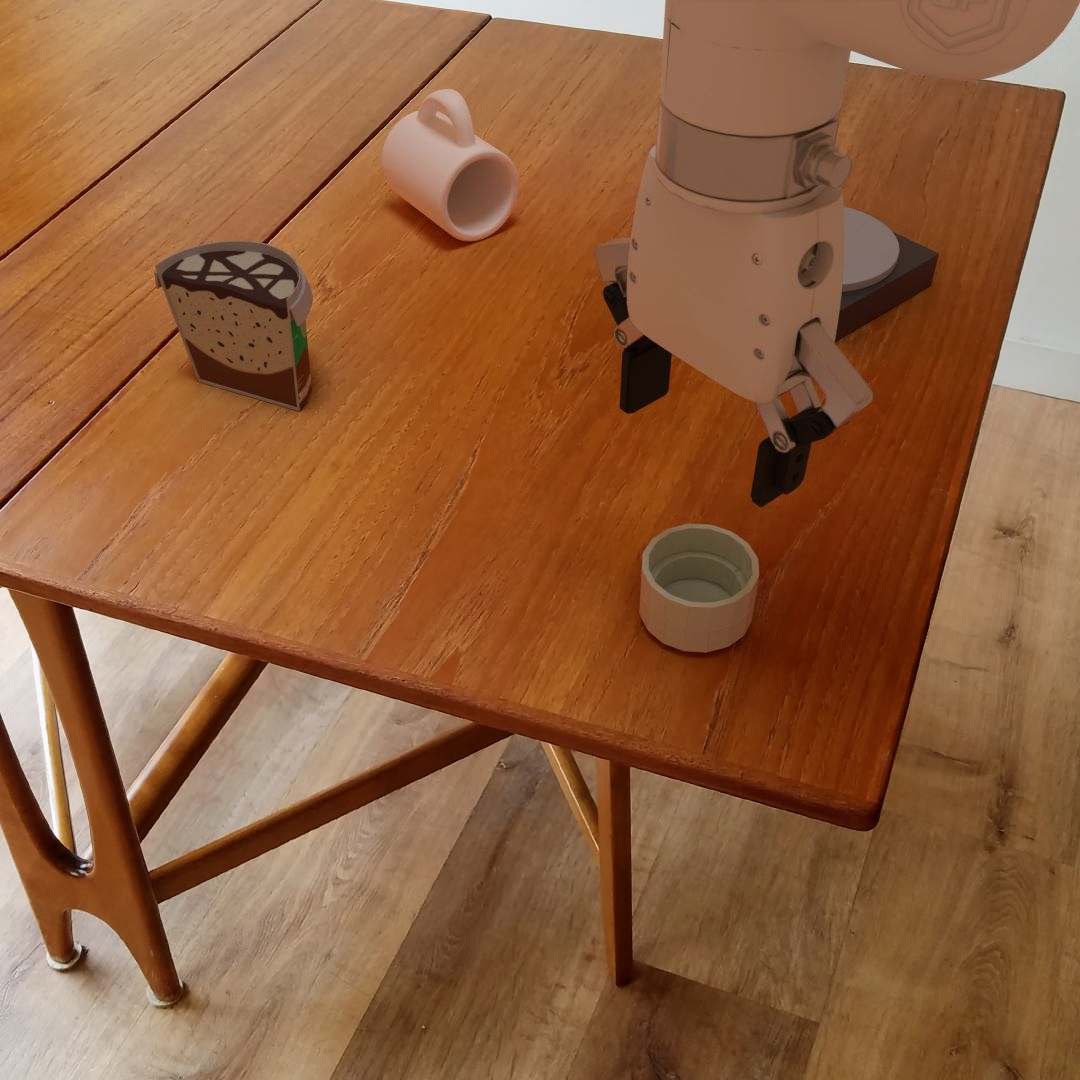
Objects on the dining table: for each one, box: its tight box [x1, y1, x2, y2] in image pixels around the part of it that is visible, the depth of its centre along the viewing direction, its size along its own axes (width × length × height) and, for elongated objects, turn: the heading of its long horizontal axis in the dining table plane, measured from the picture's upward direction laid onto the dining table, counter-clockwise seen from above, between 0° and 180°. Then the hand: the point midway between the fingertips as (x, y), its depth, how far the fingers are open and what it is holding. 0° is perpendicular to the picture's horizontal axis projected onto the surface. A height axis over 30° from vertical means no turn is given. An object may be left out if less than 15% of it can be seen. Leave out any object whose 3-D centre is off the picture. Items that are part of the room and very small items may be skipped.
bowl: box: [638, 523, 760, 654], centre depth 69 cm, size 7×7×4 cm
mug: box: [380, 88, 520, 242], centre depth 102 cm, size 8×10×12 cm
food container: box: [153, 240, 314, 413], centre depth 86 cm, size 12×6×10 cm, turn 65°
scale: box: [834, 206, 940, 343], centre depth 95 cm, size 14×14×4 cm
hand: (706, 445), depth 61 cm, fingers open, 9 cm apart
